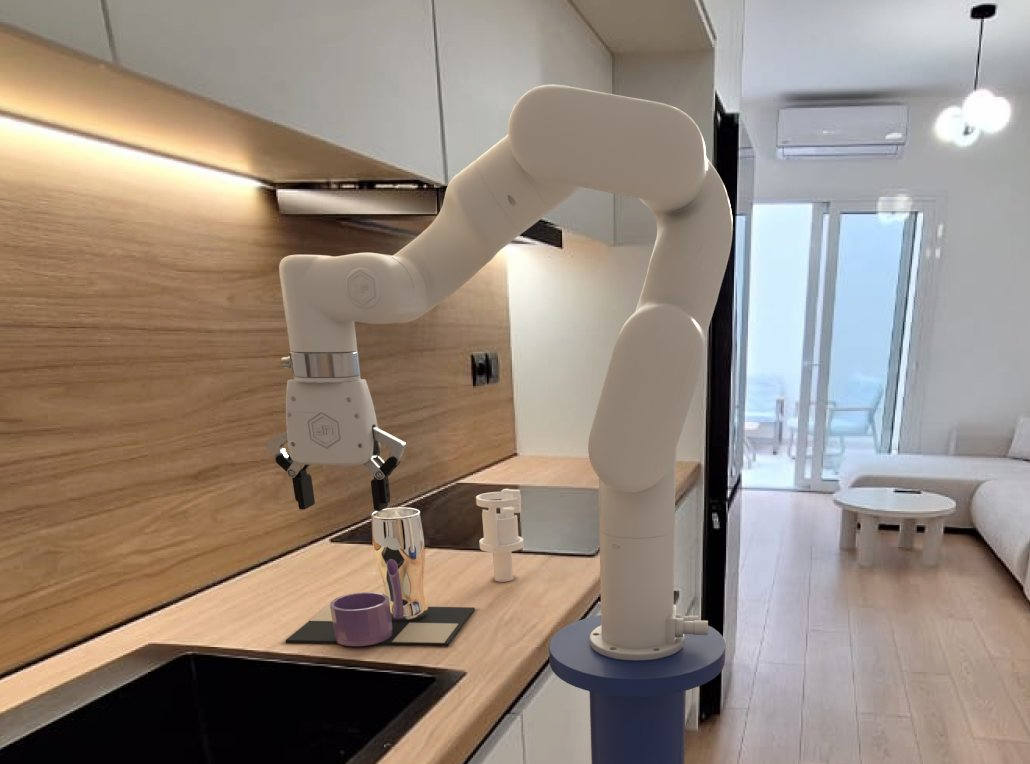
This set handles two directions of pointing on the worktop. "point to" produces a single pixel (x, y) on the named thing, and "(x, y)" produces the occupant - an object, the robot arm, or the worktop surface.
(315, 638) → the place mat
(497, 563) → the white tall plastic stand
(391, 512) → the beer glass
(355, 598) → the dish
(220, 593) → the worktop surface
